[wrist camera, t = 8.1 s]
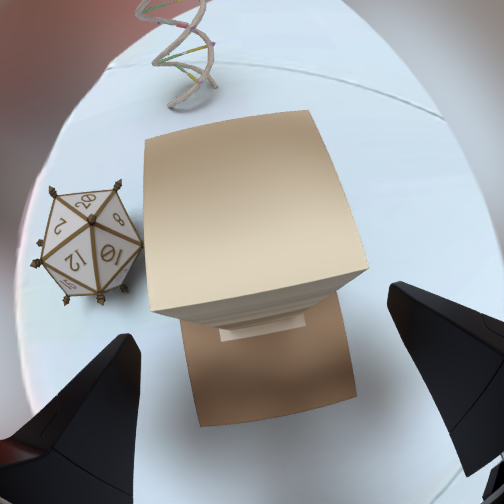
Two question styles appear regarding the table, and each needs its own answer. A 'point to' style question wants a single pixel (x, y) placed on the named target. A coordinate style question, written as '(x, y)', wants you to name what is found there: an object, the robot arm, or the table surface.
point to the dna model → (177, 42)
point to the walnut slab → (269, 366)
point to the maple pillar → (245, 222)
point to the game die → (89, 243)
